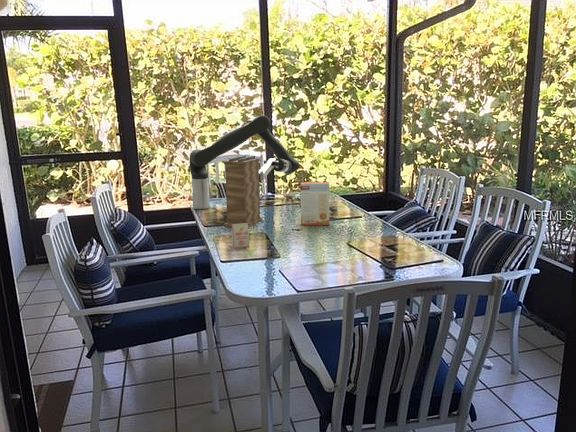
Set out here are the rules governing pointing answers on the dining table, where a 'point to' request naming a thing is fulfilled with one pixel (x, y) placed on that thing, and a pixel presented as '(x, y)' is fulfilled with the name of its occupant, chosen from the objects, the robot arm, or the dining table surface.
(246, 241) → the small beige carton
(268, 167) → the steel bar
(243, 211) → the walnut stand
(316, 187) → the cracker box
